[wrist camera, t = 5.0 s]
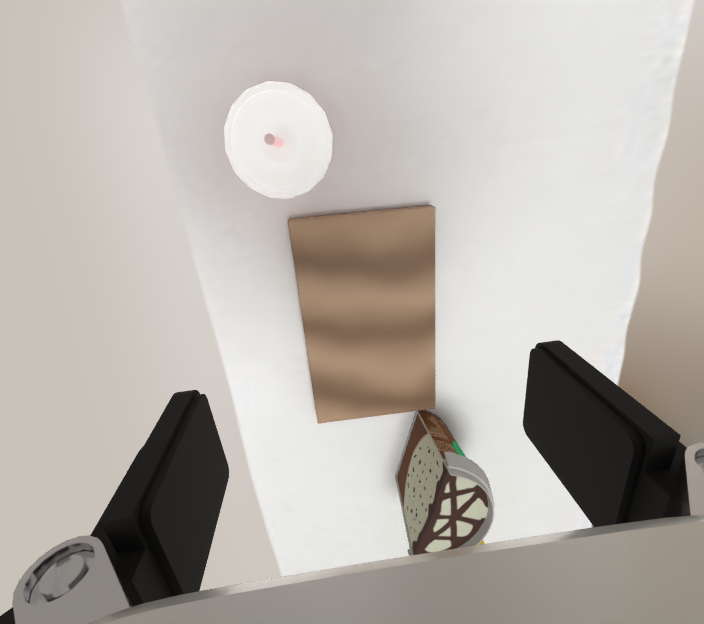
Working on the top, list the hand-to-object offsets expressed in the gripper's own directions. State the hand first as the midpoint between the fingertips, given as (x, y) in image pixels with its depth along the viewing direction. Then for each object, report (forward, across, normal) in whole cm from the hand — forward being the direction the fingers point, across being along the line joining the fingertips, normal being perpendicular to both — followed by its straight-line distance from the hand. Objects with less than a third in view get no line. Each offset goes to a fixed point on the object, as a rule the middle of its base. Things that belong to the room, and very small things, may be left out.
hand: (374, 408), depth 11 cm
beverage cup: (+24, +3, -7) cm, 25 cm away
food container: (+24, -8, +25) cm, 35 cm away
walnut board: (+24, -2, +8) cm, 25 cm away
